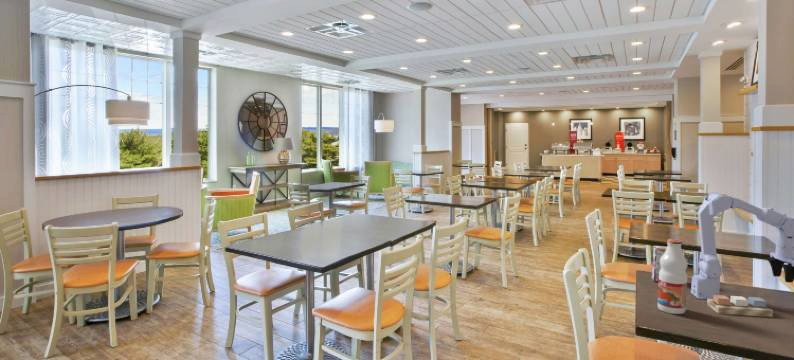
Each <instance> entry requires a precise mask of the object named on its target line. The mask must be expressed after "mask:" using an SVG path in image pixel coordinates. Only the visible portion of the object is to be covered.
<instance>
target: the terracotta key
mask: <svg viewBox="0 0 794 360" xmlns="http://www.w3.org/2000/svg"><path fill="white" fill-rule="evenodd" d="M730 299H731V298H729V297H728V296H726V295H721V294H719V295H713V301H714V302H715V303H717V304H718V305H730Z"/></svg>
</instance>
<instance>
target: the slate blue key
mask: <svg viewBox="0 0 794 360" xmlns="http://www.w3.org/2000/svg"><path fill="white" fill-rule="evenodd" d="M747 300H748V304H750V305H752V306H753V307H764V308H766V307H767V300H765V299H763V298H762V297H754V296H748V297H747Z"/></svg>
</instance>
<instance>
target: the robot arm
mask: <svg viewBox="0 0 794 360" xmlns="http://www.w3.org/2000/svg"><path fill="white" fill-rule="evenodd" d="M729 209H732V210H733V209H739V210H742V211H744V212H747V213H749V214H752V215H754V216H755V217H756V219H757V220H758V221H760V222H762V223H764V224H767V225H770V226H771V227H774V228H776V238H775V239H776V240H775V251H774V252H770V253H769V257H770V258H767V261H768V262H769V265H770V268H771V271H772V276H773V277H776V278H777V277H779V278H780V277H781V276H782V271H783V272H784V281H785V283H792V284H793V282H794V218H793V217H789V216H788V215H787V214H786V213H780V212H778V211H775V209H774V208H772V207H761V208H760V207H757V206H755V205H754V204H751V203H748V202H747V201H744V200H742V199H741V198H740V199H739V198H737V197H733V196H730V195H726V194H721V193H718V192H711V193H709V194H707V195H706V196H705V197H704V198H703V201H702V204H701V206H700V208H699V209H698V211H697V218H698V219H697V220H698V228H699V230H698V231H699V238H700V239H699V241H700V251H701V253H700V255H699V260H698V263H697V268H698V269H699V270H700V271H699V273H698V274H694V275H692V276H691V287H690V293H691V294H692V295H693V296H695V297H696V298H697V299H700V300H707V299H713V295H720V285H721V276H722V275H723V274H724V269H723V266H722V265H721V264H720V262H721V261H720V259H719V257H718V255H717V246H716V245H717V243H716V233H715V223H714V218H715V216H717V215H719V214H720V213H723V212H725V211H727V210H729Z"/></svg>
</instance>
